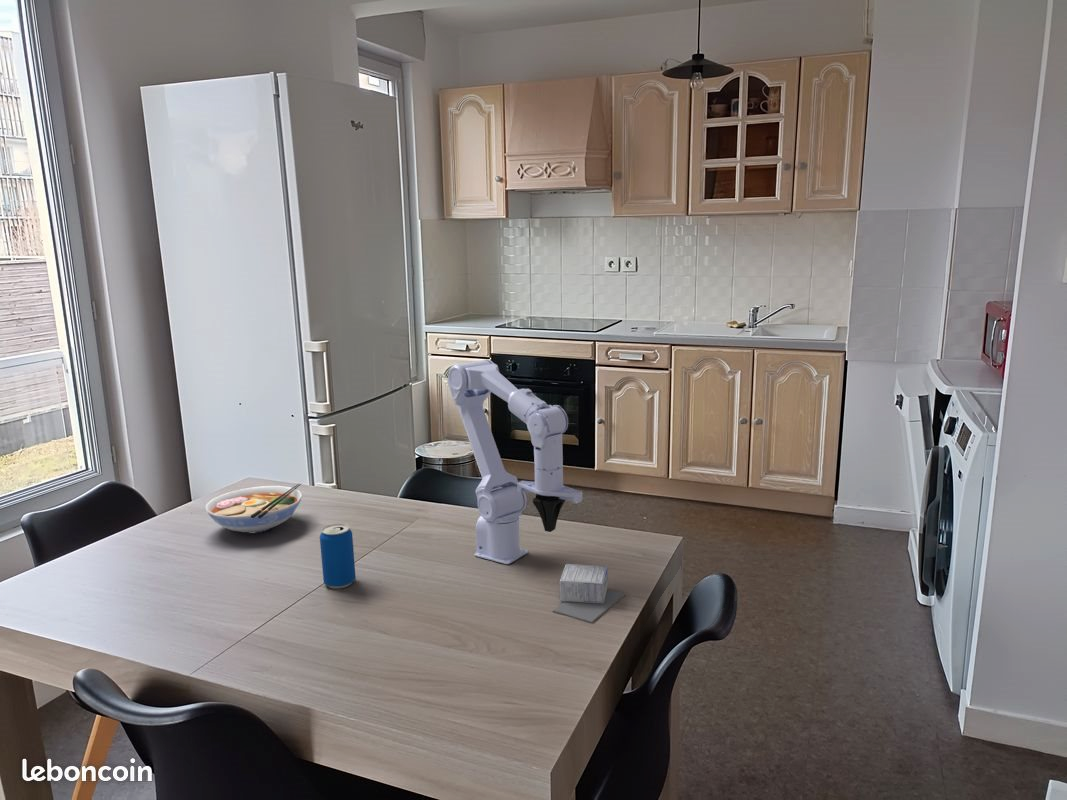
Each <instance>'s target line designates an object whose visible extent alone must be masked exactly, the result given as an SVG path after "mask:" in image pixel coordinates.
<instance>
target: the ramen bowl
mask: <svg viewBox="0 0 1067 800" xmlns="http://www.w3.org/2000/svg"><path fill="white" fill-rule="evenodd" d="M301 485H302V483H297V484H296V485H295V486H293V487H291V486H283V485H282V486H281V485H261V486H253V487H245V488H240V489H236V490H232V491H228V492H226V493H223V494H220V495H218V496H216V497H213V498H211V499H210V500H209V501H208V502H207V503H206V504H205V505H204V506H205V511H206V513H207V515H208V516H209V517H210V518H211V519H212V520H213V521H214V522H215V523H216V524H218V525H219V526H222V528H225V529H228V530H230V531H233V532H242V533H245V532H260V533H262V532H261V531H264V532H266V531H265V530H267V531H269V530H271V529H273V528H274V527H277V526H279V525H281V524H283V523H285V522H286V521H287V520H288V519H289V518H291V516H292V515H293V514H294V512H295V511H296V509H297V508H298V506H299V505H300V504H301V503H300V502H301V501H302V498H303V494H302V492H301V489H300V490H299V489H298V488H299V487H300V486H301ZM270 528H271V529H270ZM268 529H269V530H268Z"/></svg>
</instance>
